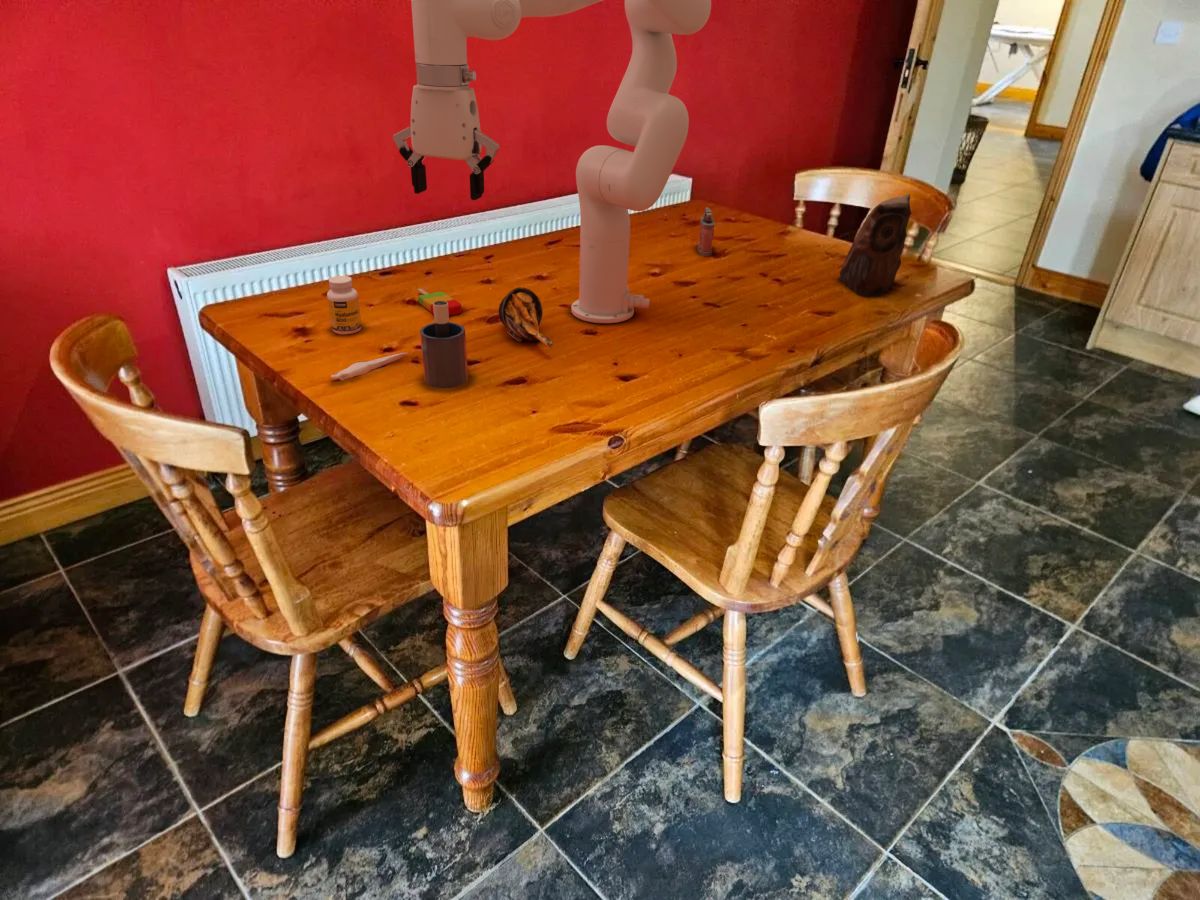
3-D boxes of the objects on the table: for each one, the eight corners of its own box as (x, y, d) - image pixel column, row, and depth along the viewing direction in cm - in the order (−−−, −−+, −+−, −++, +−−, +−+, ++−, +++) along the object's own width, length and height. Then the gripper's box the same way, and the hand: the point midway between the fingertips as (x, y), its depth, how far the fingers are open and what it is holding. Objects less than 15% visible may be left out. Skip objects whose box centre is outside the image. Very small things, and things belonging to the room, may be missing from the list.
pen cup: (471, 372, 134) (468, 322, 129) (463, 391, 128) (459, 339, 123) (430, 370, 134) (426, 320, 129) (420, 389, 128) (415, 337, 123)
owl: (892, 280, 181) (913, 191, 171) (907, 300, 170) (930, 206, 160) (837, 278, 182) (854, 188, 171) (848, 297, 171) (867, 203, 160)
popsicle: (438, 318, 153) (438, 309, 153) (407, 295, 164) (406, 286, 163) (464, 313, 156) (463, 304, 155) (431, 291, 167) (430, 282, 166)
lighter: (713, 255, 193) (717, 214, 188) (699, 255, 193) (703, 214, 188) (709, 246, 200) (713, 206, 195) (696, 245, 200) (700, 205, 195)
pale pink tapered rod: (336, 387, 128) (335, 376, 127) (327, 382, 129) (326, 371, 128) (412, 359, 137) (411, 349, 136) (403, 355, 139) (402, 345, 138)
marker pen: (454, 375, 131) (449, 301, 125) (451, 381, 129) (446, 306, 123) (441, 374, 131) (434, 300, 125) (437, 380, 129) (431, 305, 123)
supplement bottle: (335, 337, 145) (327, 285, 139) (329, 326, 149) (321, 276, 144) (365, 332, 147) (358, 281, 142) (358, 322, 151) (351, 272, 146)
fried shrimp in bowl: (529, 294, 153) (585, 290, 139) (521, 350, 154) (576, 352, 140) (488, 283, 148) (542, 279, 134) (480, 342, 148) (533, 344, 134)
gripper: (506, 79, 119) (507, 195, 127) (401, 70, 122) (410, 184, 131) (486, 83, 112) (489, 206, 121) (376, 75, 116) (387, 194, 125)
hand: (448, 195), depth 126 cm, fingers open, 9 cm apart
